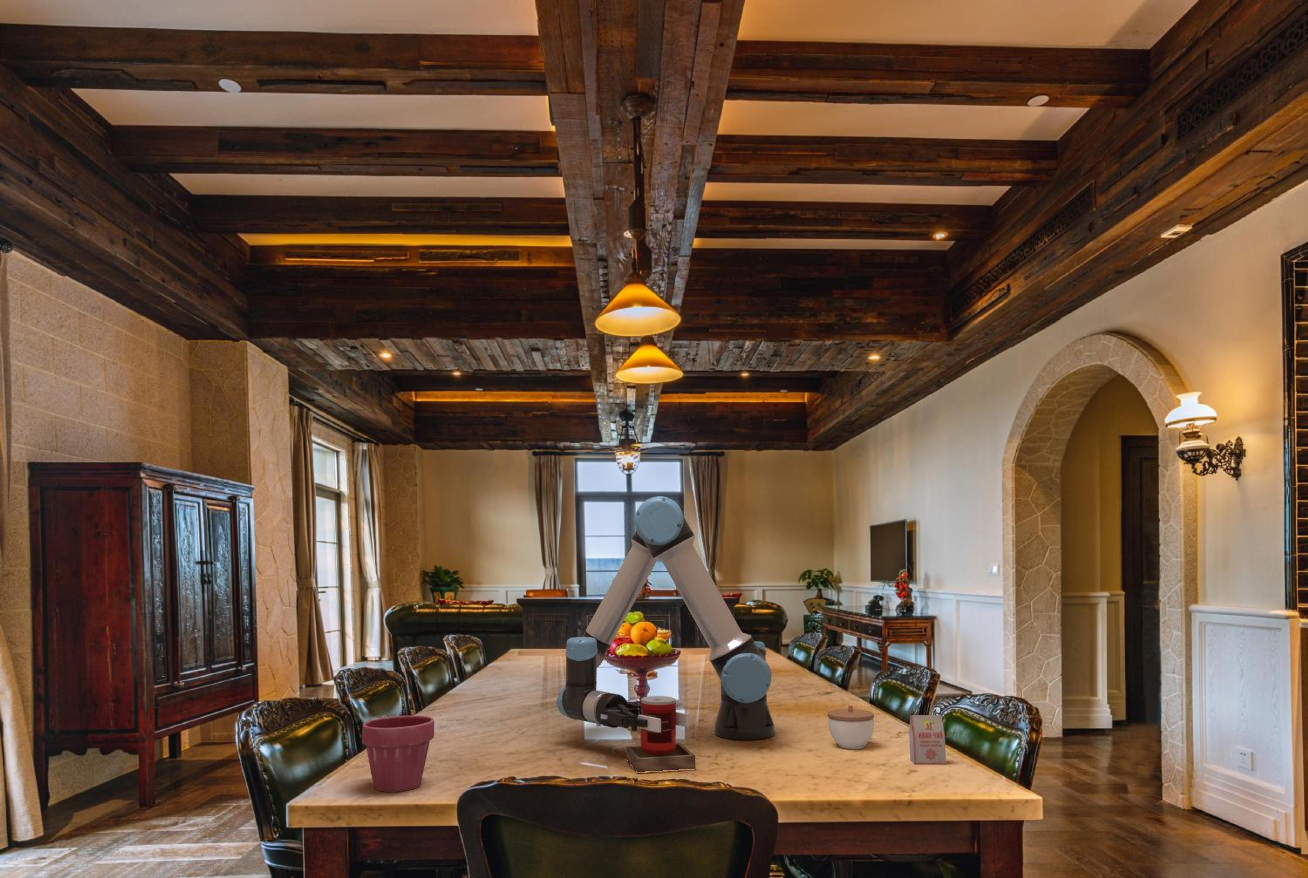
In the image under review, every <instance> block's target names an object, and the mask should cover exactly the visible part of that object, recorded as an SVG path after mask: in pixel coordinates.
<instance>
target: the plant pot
mask: <svg viewBox="0 0 1308 878" xmlns="http://www.w3.org/2000/svg"><path fill="white" fill-rule="evenodd" d="M361 727H362V730H361V743H362V744H363V746H364V745H365V746H366V751H367V752H366V753H367V757H368V765H369V769H370V774H371V779H372V785H373V788H374V789H375V790H376V791H379V792H387V793H388V792H389V793H390V792H391V793H394V792H395V793H396V792H404V791H410V790H413V789H416V788H419V787H420V786H421V784H422V780H423V775H424V771H425V765H426V762H427V756H428V752H429V748H430V747H429V746H430V742H431V740H432V741H433V739H434V738H435V718H433V717H430V716H427V715H426V716H425V715H398V716H397V715H396V716H387V717H380V718H374V719H370V720H367V721H365V722H364V723H362V726H361Z"/></svg>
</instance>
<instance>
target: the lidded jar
mask: <svg viewBox="0 0 1308 878" xmlns="http://www.w3.org/2000/svg"><path fill="white" fill-rule="evenodd" d="M853 707H854V706H853V705H852V704H851V705H850V704H849V705H847V708H837V709H831V710H829V711H828V712H827V718H828V719H827V720H828V729H829V732H830V735H831V737H832V739H833V740H834V742H836V744H837V745H838V747H839V748H841V749H847V750H860V749H864V748H866V745H867V744H868V743H870V741H871V740H872V737H873V733H874V725H875V722H874V718H875V714H874V712H873V711H870V710H868V709H867V710H866V709H860V708H853Z"/></svg>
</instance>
